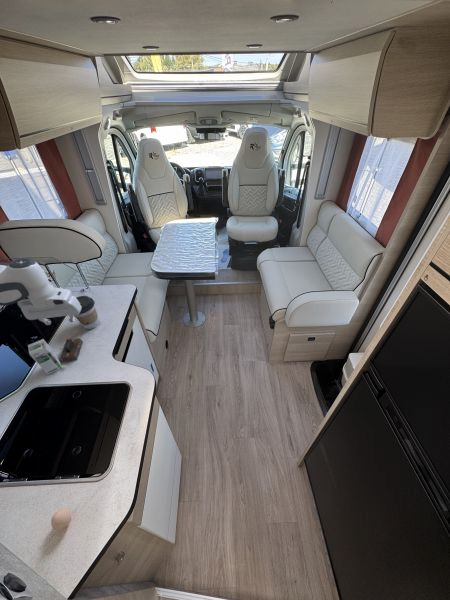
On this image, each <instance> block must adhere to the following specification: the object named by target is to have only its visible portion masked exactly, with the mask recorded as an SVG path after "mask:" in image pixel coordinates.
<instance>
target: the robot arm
mask: <svg viewBox="0 0 450 600" xmlns="http://www.w3.org/2000/svg"><path fill="white" fill-rule="evenodd" d="M72 293H73V292H72V291H71V289H68V288H61V287H57V286H54V285H53V284H52V283H51V282H50V280H49V277H48V275H47V273H46V272H45V270H44V269H43V268H42V267H41V265H40V264H39V263H38V262H37V261H35V260H33V259H31V258H24V257H23V258H16V259H14V260H12V261H10V262H4V261H0V306H1V307H4V306H12V305H14V304H16V303H17V306H18V308H20V310H21V312H22V315H23V316H24V317H25V318H26V320H29V321H34V320H38V321H40V322H42V323H43V324H45V325H46V326H50V325H51V324H52V320H51V319H50V318H58V317H67V316H68V317H69V318H68V321H69V323H74V322H75V321H76V317H75V316H74V315H78V314H79V313H80V311H81V309H82V307H81V305H80V303H79V301H78V300H77V299H76V297H77V296H75V295H73V294H72Z"/></svg>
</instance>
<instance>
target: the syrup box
mask: <svg viewBox="0 0 450 600" xmlns="http://www.w3.org/2000/svg"><path fill="white" fill-rule="evenodd" d="M27 347H28V354H29V356H30V357H31V358H32V359H33V360H34V361H35V363H37V364H38V366H39V367H40V368H41V369H42V370H43V371H44V372H45V374H46V375H48V376H49V375H51V374H52V373H55V372H57V371H59V370H60V369H62V368H63V367H62V363H61V359H60V357H58V355H57V354H56V353H55V352H54V350H53V349H52V348H51V346H50V345H49V344H48V342H47V341H46V340H45V339H44V338H42V339H40V340H37V341H35V342H33V343H29V344H28V345H27Z"/></svg>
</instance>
